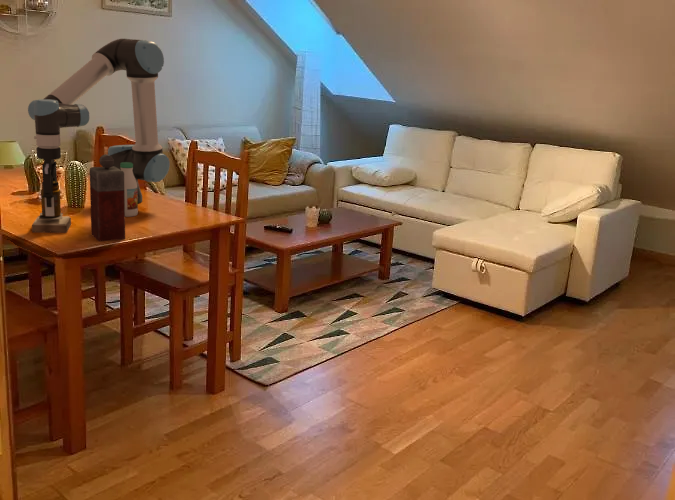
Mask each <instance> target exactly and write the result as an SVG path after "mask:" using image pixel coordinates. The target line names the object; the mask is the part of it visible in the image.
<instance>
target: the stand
mask: <svg viewBox="0 0 675 500" xmlns="http://www.w3.org/2000/svg"><path fill="white" fill-rule="evenodd" d="M39 216H40V215H38V216H37V217H36V218H35V220H34V221H33V222H32V225H31V232H32V233H50V234H51V233H52V234H53V233H56V234H57V233H59V234H60V233H66V234H68V231H69V230H70V227H71V225H72V218H71V217H70V216H67V215H66V216H64V215H62V219H53V220H52V219H39Z"/></svg>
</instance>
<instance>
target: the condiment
mask: <svg viewBox="0 0 675 500" xmlns="http://www.w3.org/2000/svg"><path fill="white" fill-rule="evenodd" d="M59 188H60V187H59V181H58V180H57V181H53V197H54V216H46V214H45V198H42V196H43V181H41V190H40V198H41V212H40V213H39V215H38V216H39V219H52V220H53V219H62V216H64V214H63V212H61V211H62V209H61V192H60V189H59Z"/></svg>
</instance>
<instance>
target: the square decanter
mask: <svg viewBox="0 0 675 500" xmlns="http://www.w3.org/2000/svg"><path fill="white" fill-rule="evenodd" d="M98 162H99V164H100V166H93V167H89V193H90V194H89V197H90V231H91V236H92V237H93V238H94V239H95V240H96V241H98V242H106V241H107V242H108V241H116V240H119V241H120V240H125V239H126V217H125V190H124V172H123V171H122V170H120V169H118V168H117V167H115V166H113V164H114V159H113V158H112V157H111V156H109V155H108V154H103V155H101V156H100V158H99V161H98ZM112 166H113V167H112Z"/></svg>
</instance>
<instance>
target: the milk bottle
mask: <svg viewBox="0 0 675 500" xmlns="http://www.w3.org/2000/svg"><path fill="white" fill-rule="evenodd" d="M120 167H121V168H120V169H121V170H122V171H123V172H124V190H125V218H126V217H128V218H129V217H135V216H137V215H138V214H139V212H138V211H139V207H138V206H139V203H138V190H137V182H136V179H135V177H134V175H133V171H132V169H133V163H130V162H122V163H120Z"/></svg>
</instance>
